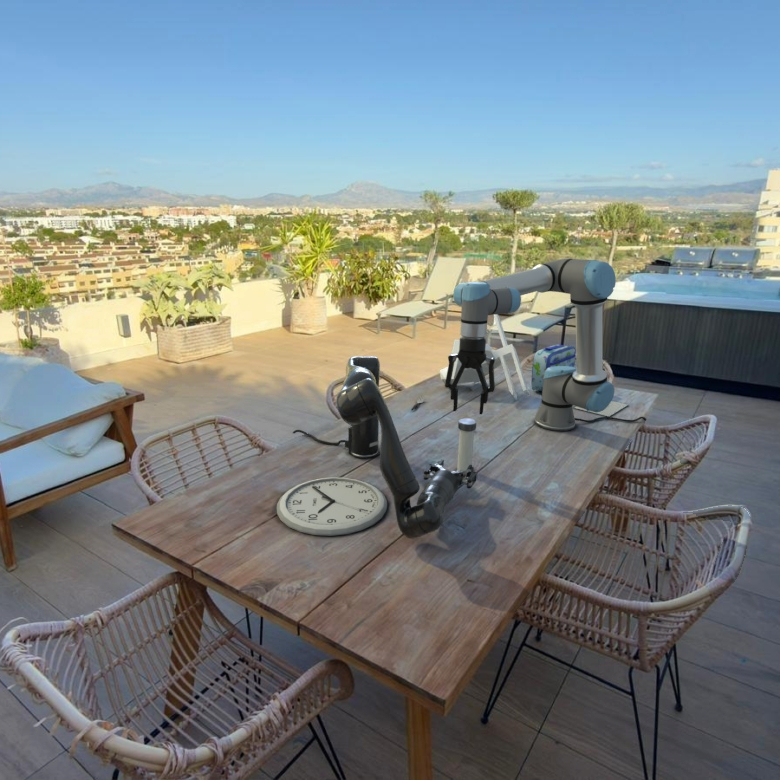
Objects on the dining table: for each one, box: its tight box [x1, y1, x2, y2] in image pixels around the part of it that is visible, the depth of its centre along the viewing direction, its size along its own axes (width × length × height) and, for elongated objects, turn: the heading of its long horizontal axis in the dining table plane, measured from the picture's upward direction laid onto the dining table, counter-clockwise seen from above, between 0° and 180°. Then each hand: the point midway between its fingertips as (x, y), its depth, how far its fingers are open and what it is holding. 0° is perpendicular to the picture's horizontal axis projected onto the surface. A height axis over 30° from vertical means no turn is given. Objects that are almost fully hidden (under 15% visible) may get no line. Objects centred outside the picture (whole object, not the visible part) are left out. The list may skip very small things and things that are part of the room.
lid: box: [457, 417, 477, 432], centre depth 159 cm, size 5×5×2 cm
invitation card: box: [573, 400, 629, 417], centre depth 226 cm, size 21×1×15 cm
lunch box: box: [530, 344, 576, 392], centre depth 247 cm, size 26×11×21 cm, turn 134°
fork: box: [410, 395, 426, 411], centre depth 223 cm, size 3×16×2 cm, turn 160°
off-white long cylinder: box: [456, 429, 475, 476], centre depth 162 cm, size 4×4×16 cm
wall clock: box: [276, 476, 388, 537], centre depth 142 cm, size 30×2×30 cm
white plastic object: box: [438, 314, 531, 400], centre depth 245 cm, size 37×45×31 cm
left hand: (456, 465), depth 153 cm, fingers open, 8 cm apart
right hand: (468, 411), depth 158 cm, fingers open, 7 cm apart
